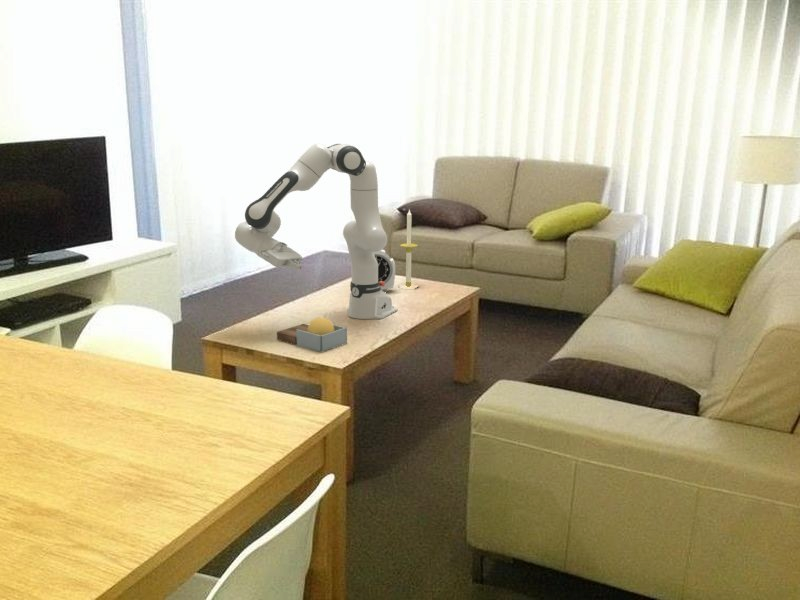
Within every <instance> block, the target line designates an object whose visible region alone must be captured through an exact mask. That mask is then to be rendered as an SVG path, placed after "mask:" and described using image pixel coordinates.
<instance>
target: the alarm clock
mask: <svg viewBox="0 0 800 600" xmlns="http://www.w3.org/2000/svg"><path fill="white" fill-rule="evenodd" d="M374 255H375V258H376V260H377V262H378V282H380V281H382V282H385V286H380V287H381V290H382V291H383V292H387V293H388V290H390V289H394V284H395V280H396V279H395V278H396V263H395V260H394V258H393V257H392V258H391V257H390V256H389V254H388V253H386V250H385V249H382V250H381V251H378V252H374Z"/></svg>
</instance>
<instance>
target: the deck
mask: <svg viewBox="0 0 800 600" xmlns="http://www.w3.org/2000/svg"><path fill="white" fill-rule="evenodd" d="M308 326H309V324H305V323H302V324H298V325H296V326H292V327H289V328H286V329H283V330H279V331H276V340H277V341H280V340H281V341H280V342H284V343H287V342H288V343H287V344H290V343H292V344H291V345H295V346H298V345H297V335H296V330H297V329H299V330H302V331H306V332H307V329H308Z"/></svg>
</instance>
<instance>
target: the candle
mask: <svg viewBox="0 0 800 600" xmlns="http://www.w3.org/2000/svg"><path fill="white" fill-rule="evenodd" d="M412 215H413V214H412V213H411V210H410V208H409V209H408V212H407V213H406V243H400V245H399V247H401V248H406V250H405V260H406V261H405V284H406V286H407V287H410V286H411V284H412V252H413V251H412V248H417V247H418V246H419V244H417V243H412V219H413V218H412Z"/></svg>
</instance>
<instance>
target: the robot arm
mask: <svg viewBox="0 0 800 600" xmlns="http://www.w3.org/2000/svg"><path fill="white" fill-rule="evenodd" d="M329 170H333V171H337V172H338V173H342V174H343V173H345V174H347V175H348V177H349V180H350V191H349V192H350V193H349V195H350V209H351V211H352V213H353V217H354V220H351V221H349V222H347V223H346V224H345V226H344V227H343V230H342V232H343V233H342V235H343V238H344V240H345V243H346V245H347V248H348V254H349V259H350V266H351V268H350V270H351V271H350V273H351V281H350V285H349V286H350V293H349V303H348V308H346V309H347V310H346V311H347V316H348V317H350V318H353V319H358V320H372V319H373V320H376V319H377V320H381V319H384V318H386V317H388V316H390V315H392V314H394V313H396V312H397V311H398V308H397V307H396V306H393V303H392V298H391V296H390V295H389V294H388V293H385V292H383V291H382V290H381V287H380V286H385V282H382V281H380V282H378V262H377V260H376V258H375V255H374V252H378V251H381V250H385V247H386V246H387V244H388V235H387V233H386V231H385V230H384V226H383V223H382V220H381V215H380V211H379V192H378V189H379V188H378V184H379V183H378V182H379V181H378V174H377V170H376V166H375V164H374V163H372V162H371V161H369V160H365V158H364V156H363V154H362V152H361V151H360V150H359V148H357V147H356V146H353V145H350V144H347V143H335V144H332V145H330V146H326V145H325V144H321V143H314V144H313V145H311V146H310V147H309V148H308V149H306V150H305V152H303V154H302V155H301V156H299V158H298V159H297V160H296V162H295V163H294V164H293V165H292V166H291V167H290V169H289V170H288V171H286V172H285V173H284V174H282V175H281V177H279V178H278V179H277V180H276V181H275V182H274V183H273V184H272V185H271V187H269V189H267V190H266V192H264V194H263V195H262V196H261V197H259V198H258V199H256V200H254V201H252V202H251V203H250V204H249V205H248V206H247V207H246V209H245V211H244V219H245V221H244V222H240V223H239V224H238V225H237V227H236V229H235V232H234V239H235V241H236V242H237V243H238V244H239V245H240V246H241V247H243V248H245V249H246V250H248V251H250V252H251V253H254V254H255V255H256V256H257V257H259V258H260V259H262V260H264V261H265V262H267V263H269V264H270V265H272V266H274V267H276V268H282V267H289V268H292V269H294V270H296V271H299V270H303V264H301V262H302V260H303V256H302V255H301V254H300V253H298V252H297V251H295V250H294V249H293V248H291V247H289V246H288V244H287V243H286V242H282V241H279V240H277V239H275V238H273V237H274V236H275V235H276V233H277V232H278V231H279V230H280V228H281V225H282V224H281V223H282V222H281V221H282V220H281V217H280V216H279V215H278V214H277V213H276V212H275V208H276V207H277V206H278V205H279V204H280V203H281V201H283V200H284V199H285V198H286V197H287V195H289V194H290V193H292V192H297V191H299V192H303V191H304V192H305V191H309V190H310V189H311V188H313V187H314V186H315V185H316V184H317V183H318V182H319V181H320V179H321V178H322V176H324V174H325V173H326V172H327V171H329ZM395 311H396V312H395ZM393 312H394V313H393ZM391 313H392V314H391Z"/></svg>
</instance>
